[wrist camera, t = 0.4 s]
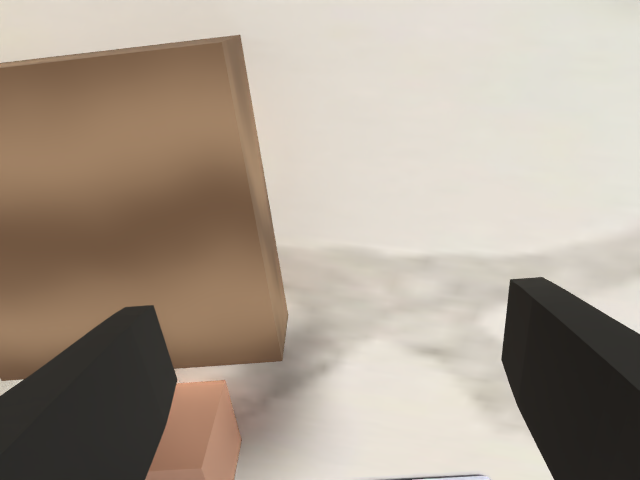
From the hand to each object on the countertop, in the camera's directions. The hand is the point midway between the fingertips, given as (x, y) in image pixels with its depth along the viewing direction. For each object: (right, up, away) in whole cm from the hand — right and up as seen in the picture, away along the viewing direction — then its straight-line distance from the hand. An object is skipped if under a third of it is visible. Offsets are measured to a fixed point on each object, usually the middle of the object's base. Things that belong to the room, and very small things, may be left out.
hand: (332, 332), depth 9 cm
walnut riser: (-8, +3, +10) cm, 13 cm away
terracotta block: (-7, -7, +15) cm, 18 cm away
